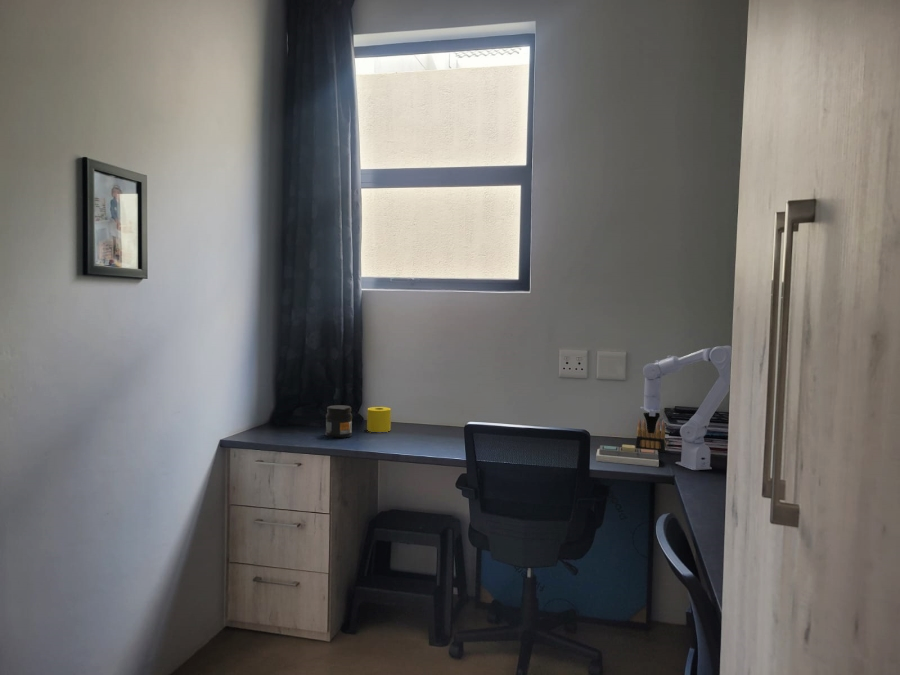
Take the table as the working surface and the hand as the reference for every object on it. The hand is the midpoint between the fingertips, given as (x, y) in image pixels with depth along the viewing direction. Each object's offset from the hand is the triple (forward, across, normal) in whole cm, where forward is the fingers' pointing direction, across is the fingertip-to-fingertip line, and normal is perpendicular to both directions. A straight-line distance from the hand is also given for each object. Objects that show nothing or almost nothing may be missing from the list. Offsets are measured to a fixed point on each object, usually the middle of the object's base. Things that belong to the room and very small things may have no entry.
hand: (650, 432), depth 224 cm
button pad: (+9, +6, -8) cm, 14 cm away
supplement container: (+10, +10, -121) cm, 122 cm away
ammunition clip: (+10, -14, +1) cm, 17 cm away
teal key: (+7, +6, -14) cm, 17 cm away
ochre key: (+6, +6, -8) cm, 12 cm away
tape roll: (+10, -7, -110) cm, 111 cm away
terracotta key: (+7, +6, -1) cm, 10 cm away
